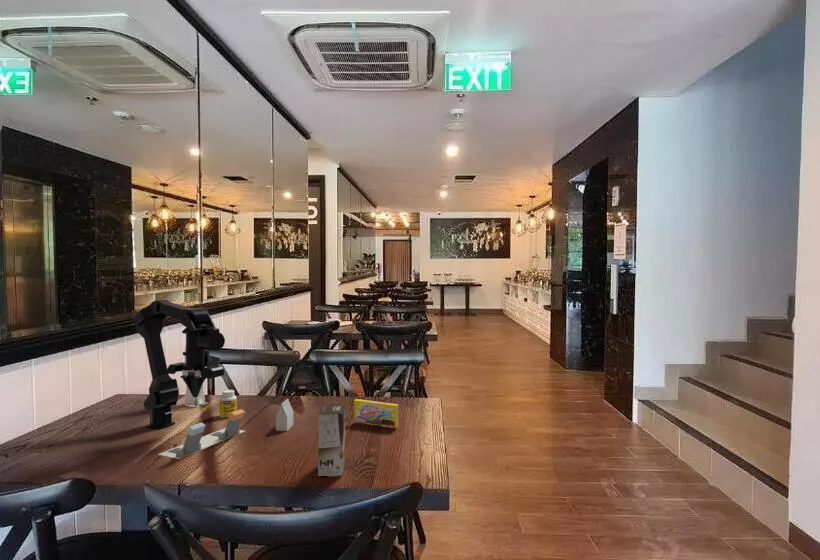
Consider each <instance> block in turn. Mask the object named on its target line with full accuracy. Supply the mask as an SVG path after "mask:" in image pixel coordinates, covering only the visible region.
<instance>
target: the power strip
mask: <svg viewBox="0 0 820 560" xmlns="http://www.w3.org/2000/svg"><path fill="white" fill-rule="evenodd" d="M225 429H226V427H225V428H222V429H219V430H216V431H214V432H211V433H209V434H206V435H202V437H201V440H200V443H199V446H198V449H197V451H195V452H192V453H190V454H188V455H184V450H182V449H183V446H184V443H183V444H180V445H178V446H176V447H172V448H171V449H168V450H166V451H162V452H161V453H158V456H164V457H168V458H172V459H177V460H180V459H183V458H185V457H188V456H190V455H192V454H195V453H197V452H199V451H202V450H205V449H207V448H209V447H211V446H214V445H216V444H218V443H220V442H223V441H226V440H228V439H230V438H233V437H236V436H238V435H240V434H242V433H245V432H246V430H242V429H240V427H239V428H238V431H237V433H236V435H233V436H231V437H229V438H226V433H224V432H225Z"/></svg>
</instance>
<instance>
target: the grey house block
mask: <svg viewBox="0 0 820 560" xmlns="http://www.w3.org/2000/svg"><path fill="white" fill-rule="evenodd" d="M294 414H295V413H294V409H293V406H292V405H291V402H290V400H289V398H286V399H285V400H284V401H283V402H282V403H281V404H280V406H279V409H278V412H277V414H276V415H275V431H276V432H288V431H289V430H290V429H291V428H292V427H293V425H294Z"/></svg>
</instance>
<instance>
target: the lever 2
mask: <svg viewBox="0 0 820 560" xmlns="http://www.w3.org/2000/svg"><path fill="white" fill-rule="evenodd" d="M245 413H246V411H244V410H243V409H242V408H241V409H237V410H236V411H235V412H232V413H231V415H230V417H229V418H228V422H227V425H226V426H225V428H226V429H225V432H224V433H226V438H228V439H230V438H232V437H231V436H233V435H235V436H237V435H236V433H237V431H238V428H240V426H241V423H242V420H243V418H244V416H245ZM229 437H230V438H229ZM233 437H234V436H233Z"/></svg>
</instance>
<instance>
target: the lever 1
mask: <svg viewBox="0 0 820 560" xmlns="http://www.w3.org/2000/svg"><path fill="white" fill-rule="evenodd" d="M206 426H207V425H206V424H204V423H203V422H202V421H201V422H200V423H196V424H193V425H190V426H188V429H187V433H186V437H185V440H184V442H183V444H184V446H183V449H182V450H184V455H188V454H190V453H192V452H195V451H197V449H198V446H199V443H200V440H201V437H203V434H204V431H205V428H206ZM197 452H198V451H197ZM195 453H196V452H195ZM190 455H191V454H190ZM188 456H189V455H188Z"/></svg>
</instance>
